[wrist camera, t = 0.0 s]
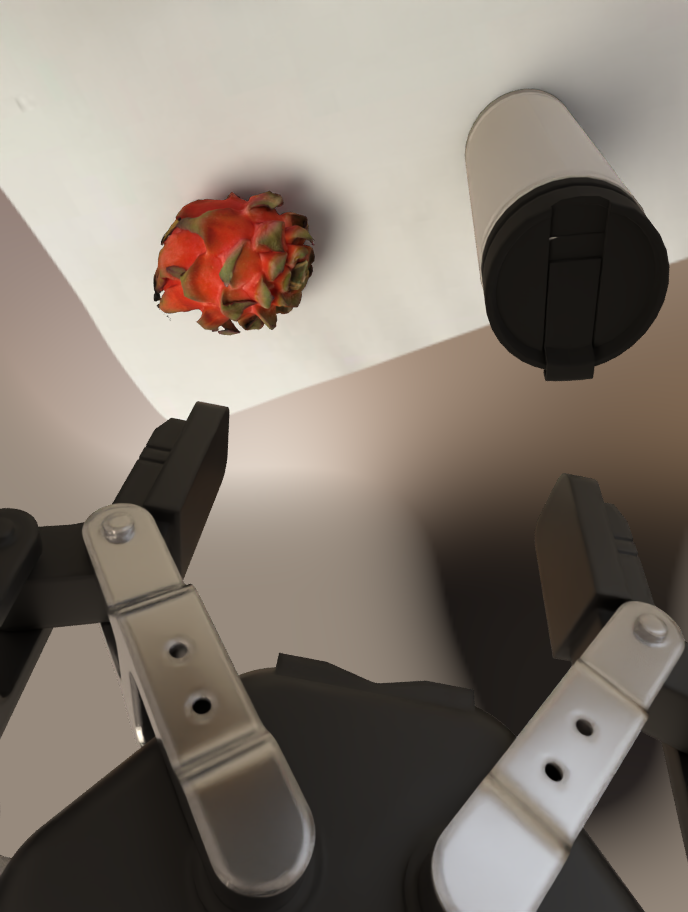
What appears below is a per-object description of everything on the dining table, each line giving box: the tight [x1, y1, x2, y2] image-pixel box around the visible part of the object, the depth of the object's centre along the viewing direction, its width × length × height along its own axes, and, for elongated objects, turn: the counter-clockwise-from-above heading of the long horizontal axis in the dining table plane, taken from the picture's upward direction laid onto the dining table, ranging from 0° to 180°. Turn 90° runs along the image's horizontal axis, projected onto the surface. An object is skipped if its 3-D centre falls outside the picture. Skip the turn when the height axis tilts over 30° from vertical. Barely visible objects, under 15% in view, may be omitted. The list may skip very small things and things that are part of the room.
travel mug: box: [465, 89, 669, 381], centre depth 29 cm, size 6×7×20 cm
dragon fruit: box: [154, 191, 315, 335], centre depth 40 cm, size 8×8×12 cm
